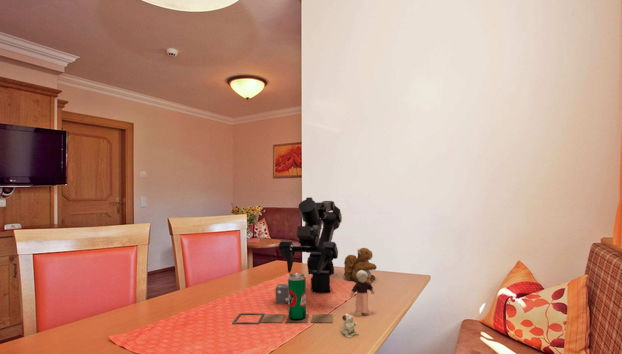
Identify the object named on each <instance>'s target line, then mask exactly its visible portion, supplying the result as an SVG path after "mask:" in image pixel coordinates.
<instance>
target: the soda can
mask: <svg viewBox="0 0 622 354" xmlns="http://www.w3.org/2000/svg"><path fill="white" fill-rule="evenodd" d="M306 279H307V278H306V276H305V274H304V273H302V272H301V273H300V272H294V273H291V274H290V273H289V276H288V278H287V284H288V314H289V317H290V318H291V319H293V320H302V319H304V318H305V317H306V314H307V282H306V281H307V280H306Z"/></svg>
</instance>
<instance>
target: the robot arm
mask: <svg viewBox="0 0 622 354" xmlns="http://www.w3.org/2000/svg"><path fill="white" fill-rule="evenodd" d="M297 208H298V210H299V214H300V215H301V219H302V221H303V222H304V225H300V226H297V227H296V238H298V239H297V242H298V244H299V245H298V244H297V245H295V244H294V243H293V241H292V240H281V241H280V242H279V243H278V246H277V248H278V250H279V253H280V255H281V257H282V258H285V260H286V265H287V266H286V267H287V273H288V274H290V273H291V271H292V268H293V265H294V261H295V254H296V253H308V254H309V256H308V257H307V264H306V265H307V272H308V275H311V277H310V289H311V291H312V293H313V294H314V293H316V294H317V293H319V294H320V293H321V294H323V293H326V294H328V293H331V278H330V277H331V276H332V275H334V274H335V268H334V262H333V260H335V259H338V255H339V250H338V247H337V243H336V242H335V241H332V240H333V236H334V233H335V230H338V229H339V228H340V226H341V223H342V219H343V218H342V213H341V209H340V208H339V207H337V205H336V204H335V201H333V200H323V201H321V202H316V201H314V199H313V197H306V198H305V200H302V201H301V202H300V203H298V207H297Z"/></svg>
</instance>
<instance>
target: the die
mask: <svg viewBox="0 0 622 354" xmlns="http://www.w3.org/2000/svg"><path fill="white" fill-rule="evenodd" d="M275 304H283V305H285V304H286V305H287V304H288V283H277V284H276V286H275ZM288 305H289V304H288Z"/></svg>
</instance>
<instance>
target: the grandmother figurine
mask: <svg viewBox="0 0 622 354" xmlns="http://www.w3.org/2000/svg"><path fill="white" fill-rule="evenodd" d="M356 276H357V278H358V280H359V282H356V283H355V285H354V286H353V287H352V289H351V290H350V294H349V297H350V298H353V297H354V295H355V293H356V297H355V313H354V316H355V317H362V316H369V315H370V311H369V292H370V293H371V295H374V294H375V290H374V289H373V285H371V284H369V283H367V282H365V281H366V279H367V277H368V274H367V273H366V272H365V271H363V270H360V271H358V272H357V274H356ZM368 291H369V292H368Z"/></svg>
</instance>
